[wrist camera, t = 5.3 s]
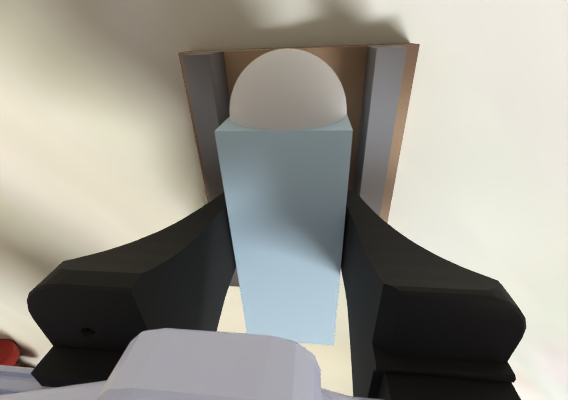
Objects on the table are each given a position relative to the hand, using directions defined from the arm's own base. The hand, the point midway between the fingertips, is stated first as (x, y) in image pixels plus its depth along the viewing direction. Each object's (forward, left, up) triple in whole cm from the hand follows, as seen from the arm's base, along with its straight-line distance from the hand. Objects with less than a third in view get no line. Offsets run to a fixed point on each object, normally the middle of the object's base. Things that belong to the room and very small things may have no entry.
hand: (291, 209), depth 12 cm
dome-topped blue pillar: (0, 0, -2) cm, 2 cm away
